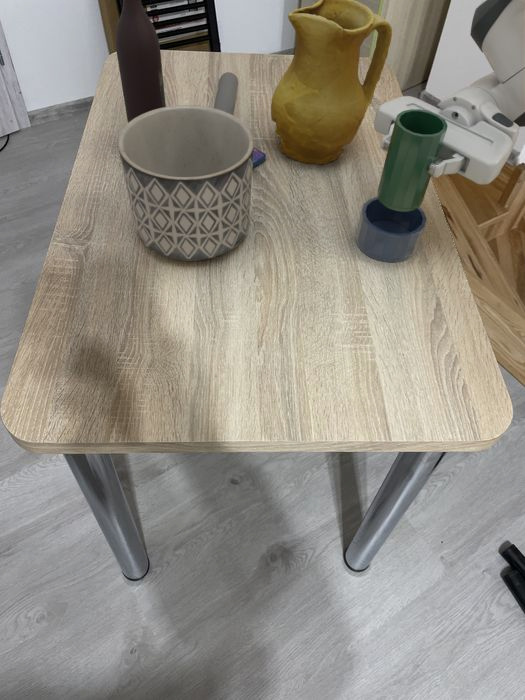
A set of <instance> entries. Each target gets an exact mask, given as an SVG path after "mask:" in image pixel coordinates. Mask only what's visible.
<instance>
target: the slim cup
mask: <svg viewBox="0 0 525 700" xmlns="http://www.w3.org/2000/svg"><path fill="white" fill-rule="evenodd" d="M447 126H448V125H447V123H446V121H445V120H444V119H443V118H442V117H441V116H439V115H437V114H435V113H433V112H430V111H426V110H421V109H410V110H405V111H402V112H401V113H399V114H398V115H397V117H396V120H395V124H394V128H393V132H392V136H391V140H390V144H389V148H388V152H387V151H386V155H385V160H384V164H383V168H382V172H381V176H380V180H379V184H378V188H377V193H376V197H378V200H379V201H380V202H381V203H382V204H383V205H384V206H386V207H387V208H389V209H392V210H395V211H401V212H407V211H413V210H415V209H417V208H419V207H420V208H421V205H422V204H423V202H424V199H425V196H426V193H427V190H428V187H429V184H430V181H431V178H432V175H430V174H428V173H427V172H428V170H429V166H430V164H431V163H432V162H433V161H435V160H436V159H437V157H438V154H439V151H440V148H441V146H442V143H443V140H444V137H445V134H446V131H447Z"/></svg>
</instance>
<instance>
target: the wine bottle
mask: <svg viewBox="0 0 525 700" xmlns="http://www.w3.org/2000/svg"><path fill="white" fill-rule="evenodd" d="M114 40H115V48H116V56H117V64H118V69H119V75H120V83H121V88H122V89H121V90H122V94H123V101H124V106H125V107H124V108H125V112H126V113H125V115H126V120H127V124H128V123H129V122H130V121H131V120H133V119H134V118H136V117H138V116H139V115H141V114H144V113H146V112H149V111H151V110H155V109H159V108H163V107H167V105H166V104H167V103H166V95H165V94H166V93H165V84H164V83H165V82H164V75H163V64H162V53H161V47H160V46H161V45H160V39H159V37H158V33H157V31H156V28H155V26H154V24H153V22H152V21H151V19H150V17H149V16H148V14H147V13H146V10H145V8H144V6H143V4H142V0H122V8H121V13H120V16H119V19H118V21H117V25H116V30H115V39H114Z"/></svg>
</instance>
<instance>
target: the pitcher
mask: <svg viewBox="0 0 525 700" xmlns="http://www.w3.org/2000/svg"><path fill="white" fill-rule="evenodd" d="M287 19H288V21H289V22H290V23H291V26H292V28H293V29H294V31H295V49H294V54H293V58H292V60H291V62H290V64H289V66H288V67H287V69H286V71H285V72H284V73H283V75H282V76H281V78H280V79H279V81H278V83H277V85H276V87H275V89H274V92H273V94H272V97H271V104H270V117H271V121H272V122H274V123H275V128H276V129H275V131H274V133H275V134H276V135H277V136H278V137H279V138H280V139H281V141H280V143H279V149H280V151H281V153H282V154H283V155H285V156H287V157H289V158H290V159H292V160H295V161H298V162H300V163H302V164H314V165H327V164H329V163H331V162H334V161H336V160H338V159H339V158H340V157H341V155H342V154H343V151H344V148H345V147H346V146H347V145H348V144H350V143H351V142H352V141H354V138H355V137H356V135H357V133H358V131H359V129H360V127H361V124H362V123H363V120H364V119H365V115H366V113H367V111H368V108H369V107H370V105H371V104H372V103H373V102H372V100H373V99H374V94H375V90H376V88H377V84H378V83H379V82H380V79H381V75H382V72H383V69H384V67H385V64H386V60H387V58H388V54H389V48H390V46H391V42H392V36H393V28H392V26H391V23H390V22H389V21H388V20H387V19H385V18H383V17H382V16H380V15H379V14H377V13H374V12H373V11H372V10H371V8H370V7H368V6H367V5H365V4H363V3H361V2H359V1H357V0H317V1H316V3H314V4H313V5H309V6H305V7H301V8H297V9H294V10H292V11H290V12H289V13H288V14H287ZM375 30H376V32H377V36H376V40H375V41H376V42H375V48H374V50H373V54H372V57H371V61H370V64H369V67H368V69H367V71H366V75H365V78H364V81H363V84H362V83H361V81H360V78H359V63H360V53H361V46H362V45H363V43H364V41H365V39H367V38H368V37H369V36H370V35H371V34H372V32H373V31H375Z"/></svg>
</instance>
